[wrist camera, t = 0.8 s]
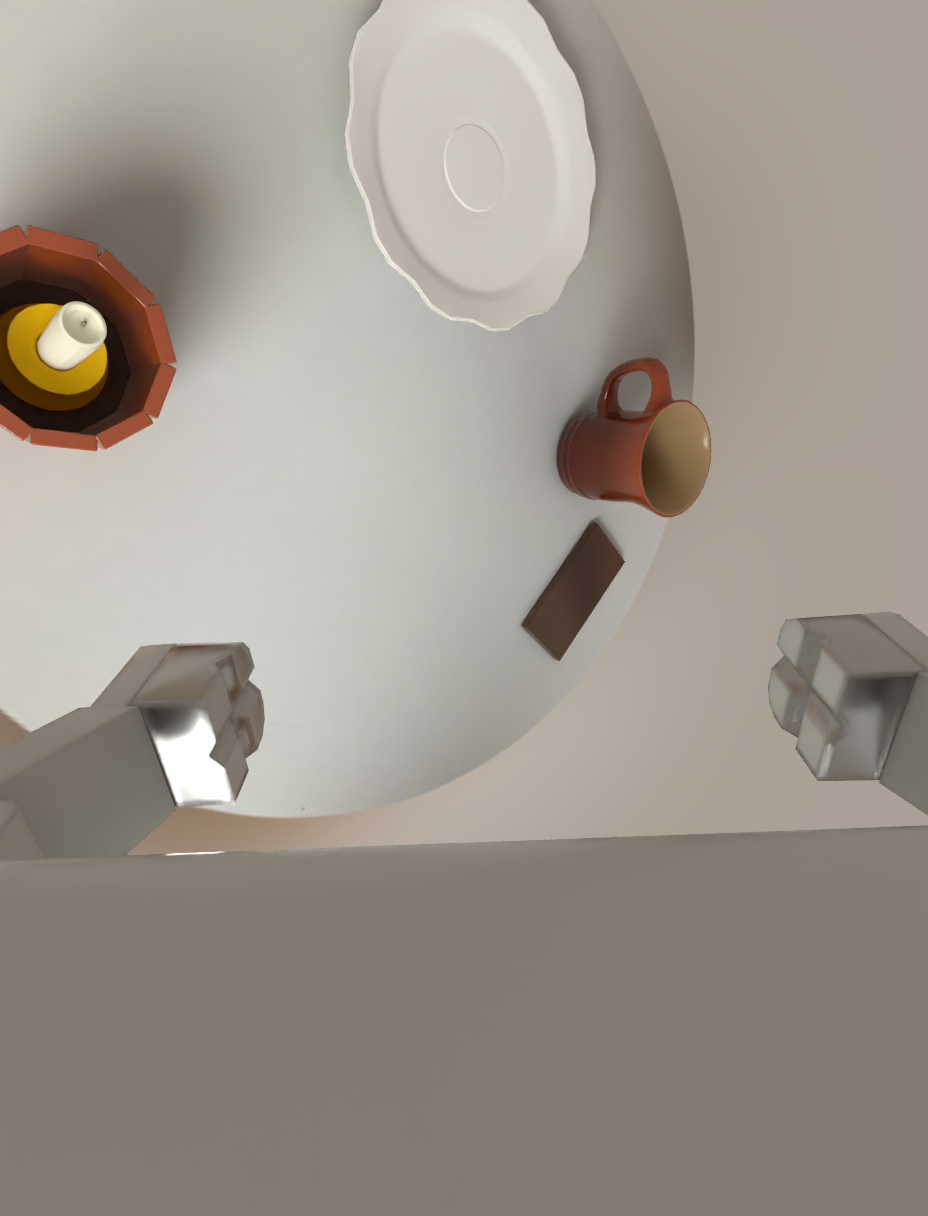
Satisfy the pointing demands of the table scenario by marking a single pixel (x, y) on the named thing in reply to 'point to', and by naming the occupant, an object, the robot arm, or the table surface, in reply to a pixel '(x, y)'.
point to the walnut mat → (574, 592)
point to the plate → (471, 155)
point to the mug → (638, 447)
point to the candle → (53, 354)
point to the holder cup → (121, 304)
